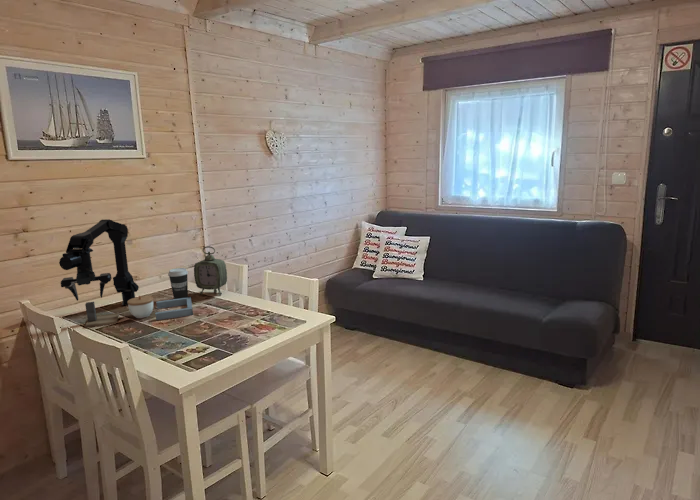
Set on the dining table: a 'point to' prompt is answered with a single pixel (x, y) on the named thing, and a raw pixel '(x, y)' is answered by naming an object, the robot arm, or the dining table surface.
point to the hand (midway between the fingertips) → (89, 298)
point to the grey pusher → (99, 317)
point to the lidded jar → (141, 306)
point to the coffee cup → (179, 282)
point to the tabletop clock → (210, 273)
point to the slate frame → (174, 313)
